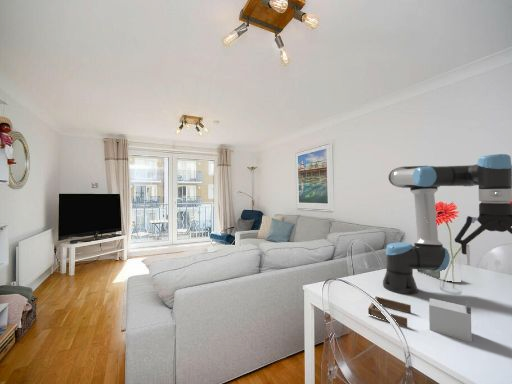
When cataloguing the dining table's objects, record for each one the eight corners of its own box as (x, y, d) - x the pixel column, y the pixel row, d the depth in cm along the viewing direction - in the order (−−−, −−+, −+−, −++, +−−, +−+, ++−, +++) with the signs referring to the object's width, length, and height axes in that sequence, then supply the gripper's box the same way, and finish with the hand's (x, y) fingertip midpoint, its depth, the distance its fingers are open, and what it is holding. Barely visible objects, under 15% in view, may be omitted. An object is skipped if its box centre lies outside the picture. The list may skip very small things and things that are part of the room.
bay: (375, 303, 102) (375, 296, 102) (410, 312, 94) (410, 305, 94) (368, 315, 91) (368, 308, 91) (407, 327, 83) (406, 319, 83)
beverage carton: (426, 270, 146) (426, 260, 146) (459, 282, 127) (459, 270, 127) (416, 271, 144) (416, 261, 144) (447, 283, 126) (447, 271, 126)
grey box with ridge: (430, 321, 87) (429, 292, 87) (469, 332, 80) (468, 301, 80) (429, 330, 81) (429, 299, 82) (471, 342, 74) (470, 308, 75)
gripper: (445, 202, 79) (446, 263, 78) (562, 203, 62) (565, 280, 62) (445, 201, 84) (446, 258, 84) (552, 202, 68) (555, 273, 68)
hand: (496, 268), depth 73 cm, fingers open, 13 cm apart
